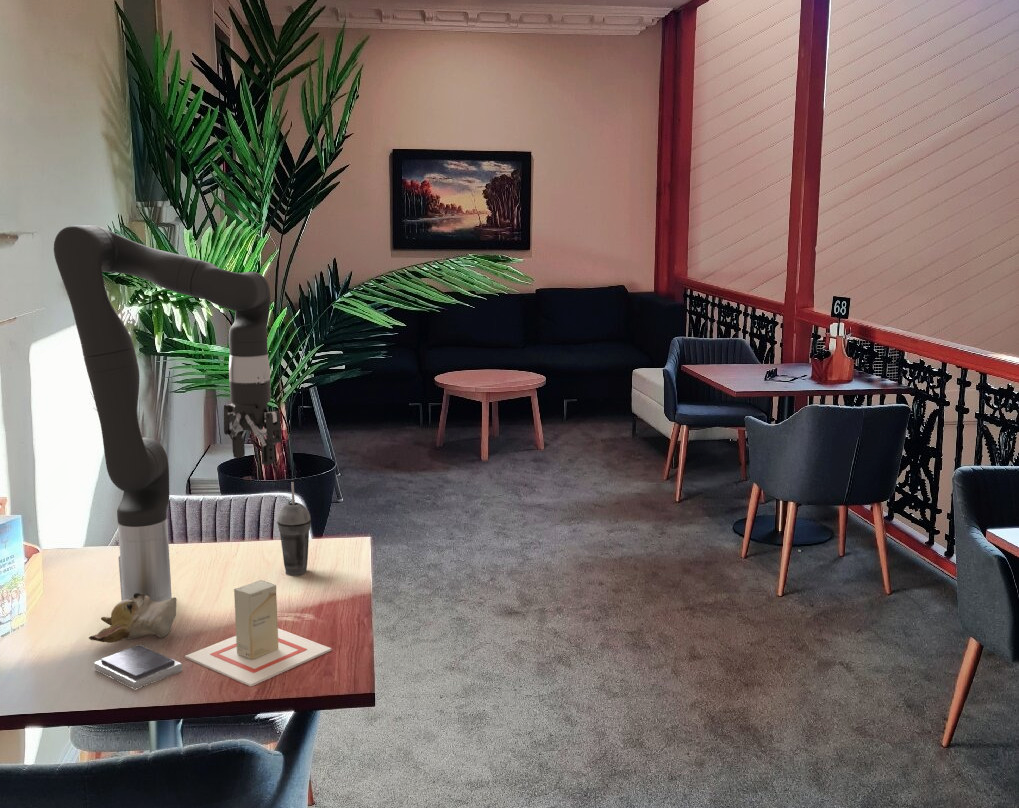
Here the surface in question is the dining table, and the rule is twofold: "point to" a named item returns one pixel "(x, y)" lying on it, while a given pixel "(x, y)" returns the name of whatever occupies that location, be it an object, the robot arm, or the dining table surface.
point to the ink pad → (138, 666)
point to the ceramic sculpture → (138, 619)
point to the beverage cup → (294, 536)
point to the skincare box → (256, 619)
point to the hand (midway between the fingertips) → (253, 460)
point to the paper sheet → (258, 658)
